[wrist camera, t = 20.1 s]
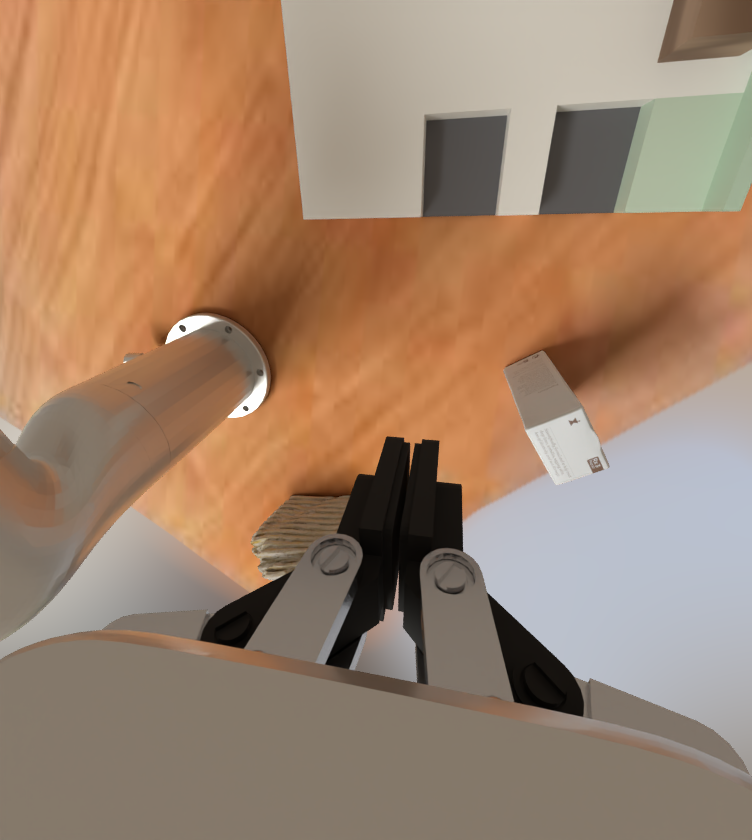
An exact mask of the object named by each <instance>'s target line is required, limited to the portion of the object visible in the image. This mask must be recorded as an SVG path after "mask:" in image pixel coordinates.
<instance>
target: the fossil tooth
mask: <svg viewBox="0 0 752 840" xmlns="http://www.w3.org/2000/svg"><path fill="white" fill-rule="evenodd" d="M349 498H350V495H348V496H340V497H337V498H334V497H331V496H330V497H314V496H291V497H290V499H289V500H287V501H285V502H284V504H283V505H281V506H280V507H279V509H277V510H276V511H275V512H274V513H273V514H272V515H271V516H270V517H269V518H268V519H267V521H264V523H263V524H262V525H261V526H260V528H259V530H258V531H257V532H256V533H255V534H254V535H253V536H252V541H251V544H252V545H253V546H254V548H253V549H252V552H253V553H254V554H255V556H256V557H257V558H260V561H261V562H260V563H261V564H260V565H259V566H258V569H259V571H260V572H261V573H263V574H262V577H263V578H266V579H268V580H273V581H274V580H276V579H278V578H280V577H281V576H283V575H285V574H287V573H289V572H291V571H293V570H294V569H295V568H296V566H297V564H298V563H299V561H300V560H301V558H302V557H303V555H304V553H305V552H306V550H307V549H308V548H309V546H310V545H311V544H312V543H313V542H314V541H316V540H317V539H319V538H320V537H323V536H326V535H329V534H336V533H337V530H338V527H339V525H340V522H341V519H342V517H343V514H344V511H345V508H346V506H347V503H348V500H349Z"/></svg>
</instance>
